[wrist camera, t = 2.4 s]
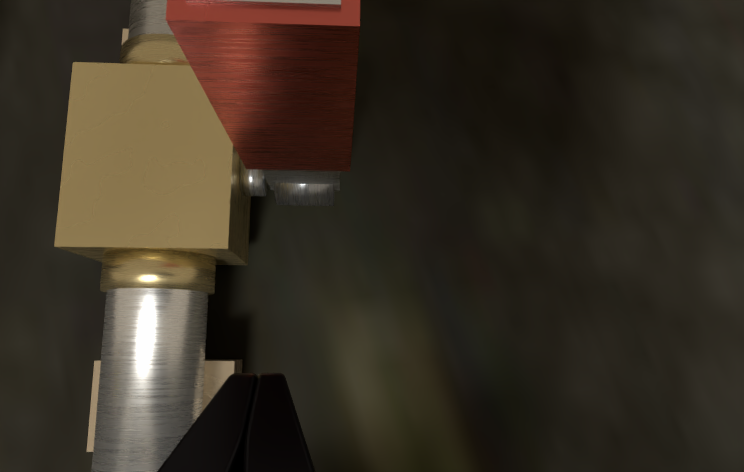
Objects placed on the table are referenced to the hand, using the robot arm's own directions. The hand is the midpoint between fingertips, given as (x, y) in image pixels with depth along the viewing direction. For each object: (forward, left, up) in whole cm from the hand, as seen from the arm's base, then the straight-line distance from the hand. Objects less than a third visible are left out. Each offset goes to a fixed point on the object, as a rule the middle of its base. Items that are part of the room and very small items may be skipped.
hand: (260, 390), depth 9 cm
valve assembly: (0, +6, -13) cm, 15 cm away
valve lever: (+5, +5, -11) cm, 13 cm away
